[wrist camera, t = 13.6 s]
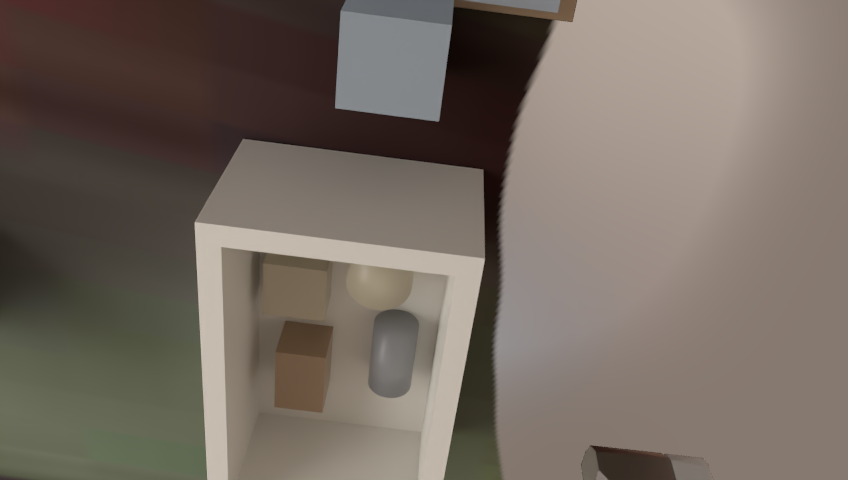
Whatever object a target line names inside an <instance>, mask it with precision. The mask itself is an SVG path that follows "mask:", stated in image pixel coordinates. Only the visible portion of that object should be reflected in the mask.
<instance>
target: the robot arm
mask: <svg viewBox="0 0 848 480" xmlns="http://www.w3.org/2000/svg"><path fill="white" fill-rule="evenodd" d="M581 468H582V475H583V480H714V479H713V476H712V473H711V471H710V467H709V465H708V463H707V462H706V461H705V460H704V459H703V458H698V457H690V456H681V455H672V454H664V455H663V454H661V453H655V452H647V451H637V450H628V449H619V448H609V447H601V446H592V445H591V446H589V448H588V449H587V450H586V452H585V455H584V457H583V460H582V463H581Z"/></svg>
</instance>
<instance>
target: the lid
mask: <svg viewBox="0 0 848 480" xmlns="http://www.w3.org/2000/svg"><path fill="white" fill-rule="evenodd" d="M464 1H471V2H479V3H486V4H494V5H502V6H509V7H517V8H524V9H532V10H540V11H547V12H555V13H558V10H559V5H560V0H464ZM453 7H454V0H346V1H345V3H344V5H343V7H342V9H341V15H340V32H339V49H338V66H337V84H336V101H335V108H338V109H346V110H353V111H361V112H369V113H377V114H384V115H392V116H400V117H408V118H415V119H423V120H431V121H438V122H439V117H440V110H441V103H442V95H443V88H444V81H445V73H446V66H447V58H448V51H449V44H450V36H451V29H452V19H453Z"/></svg>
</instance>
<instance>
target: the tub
mask: <svg viewBox="0 0 848 480" xmlns="http://www.w3.org/2000/svg"><path fill="white" fill-rule="evenodd" d="M195 240H196V259H197V279H198V299H199V319H200V339H201V359H202V379H203V399H204V419H205V439H206V459H207V479H208V480H443V479H444V474H445V469H446V463H447V458H448V453H449V447H450V442H451V437H452V431H453V426H454V421H455V416H456V410H457V405H458V400H459V394H460V389H461V384H462V378H463V373H464V368H465V363H466V357H467V352H468V347H469V341H470V336H471V331H472V325H473V320H474V315H475V310H476V304H477V299H478V294H479V288H480V283H481V278H482V272H483V267H484V262H485V228H484V178H483V169H475V168H467V167H460V166H452V165H444V164H436V163H428V162H420V161H413V160H405V159H397V158H389V157H381V156H373V155H366V154H358V153H350V152H342V151H334V150H326V149H319V148H311V147H303V146H295V145H287V144H279V143H272V142H264V141H256V140H248V139H243V140H242V142H241V143H240V145H239V147H238V149H237V150H236V152H235V154H234V155H233V157H232V159H231V161H230V162H229V164H228V166H227V167H226V169H225V171H224V173H223V174H222V176H221V178H220V179H219V181H218V183H217V185H216V186H215V188H214V190H213V191H212V193H211V195H210V197H209V198H208V200H207V202H206V203H205V205H204V207H203V209H202V210H201V212H200V214H199V215H198V217H197V219H196V221H195Z"/></svg>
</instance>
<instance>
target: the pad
mask: <svg viewBox="0 0 848 480" xmlns="http://www.w3.org/2000/svg"><path fill="white" fill-rule="evenodd" d="M576 3H577V0H560V5H559V10H558V13H555V12H547V11H540V10H532V9H524V8H517V7H509V6H502V5H494V4H486V3H479V2H471V1H464V0H454V7H460V8H468V9H476V10H483V11H491V12H499V13H506V14H514V15H522V16H529V17H537V18H545V19H552V20H560V21H568V22H572V21H573V17H574V12H575V8H576Z"/></svg>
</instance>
